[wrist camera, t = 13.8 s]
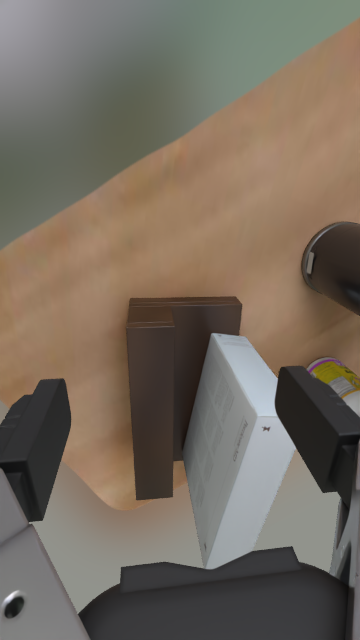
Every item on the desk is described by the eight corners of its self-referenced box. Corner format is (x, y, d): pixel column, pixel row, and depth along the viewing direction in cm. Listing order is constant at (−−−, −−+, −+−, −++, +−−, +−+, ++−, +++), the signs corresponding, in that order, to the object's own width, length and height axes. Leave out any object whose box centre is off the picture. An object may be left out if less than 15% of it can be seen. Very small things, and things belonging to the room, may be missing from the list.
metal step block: (235, 296, 41) (258, 324, 32) (221, 442, 51) (236, 491, 43) (130, 298, 39) (126, 327, 31) (137, 448, 50) (136, 500, 41)
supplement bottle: (348, 376, 48) (414, 436, 36) (312, 398, 49) (364, 464, 37) (332, 347, 46) (396, 402, 34) (294, 371, 47) (344, 432, 35)
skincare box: (214, 454, 48) (245, 571, 33) (181, 452, 47) (197, 571, 32) (251, 335, 40) (312, 420, 25) (211, 330, 39) (251, 415, 24)
